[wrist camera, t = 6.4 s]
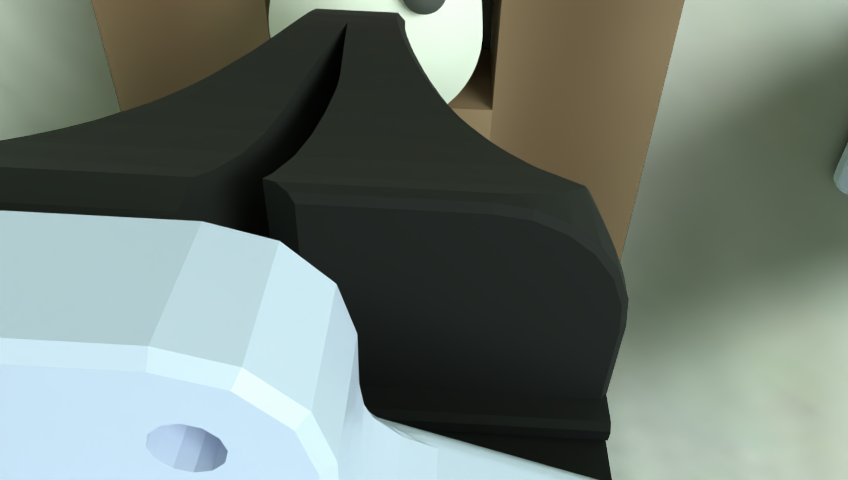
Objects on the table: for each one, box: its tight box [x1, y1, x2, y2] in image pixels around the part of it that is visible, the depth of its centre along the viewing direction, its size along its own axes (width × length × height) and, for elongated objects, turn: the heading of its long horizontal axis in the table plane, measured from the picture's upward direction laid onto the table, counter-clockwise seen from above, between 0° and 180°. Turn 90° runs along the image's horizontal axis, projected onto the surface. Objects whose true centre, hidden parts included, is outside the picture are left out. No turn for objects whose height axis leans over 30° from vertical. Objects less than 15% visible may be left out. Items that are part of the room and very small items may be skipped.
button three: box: [269, 0, 483, 104], centre depth 15 cm, size 4×4×3 cm
